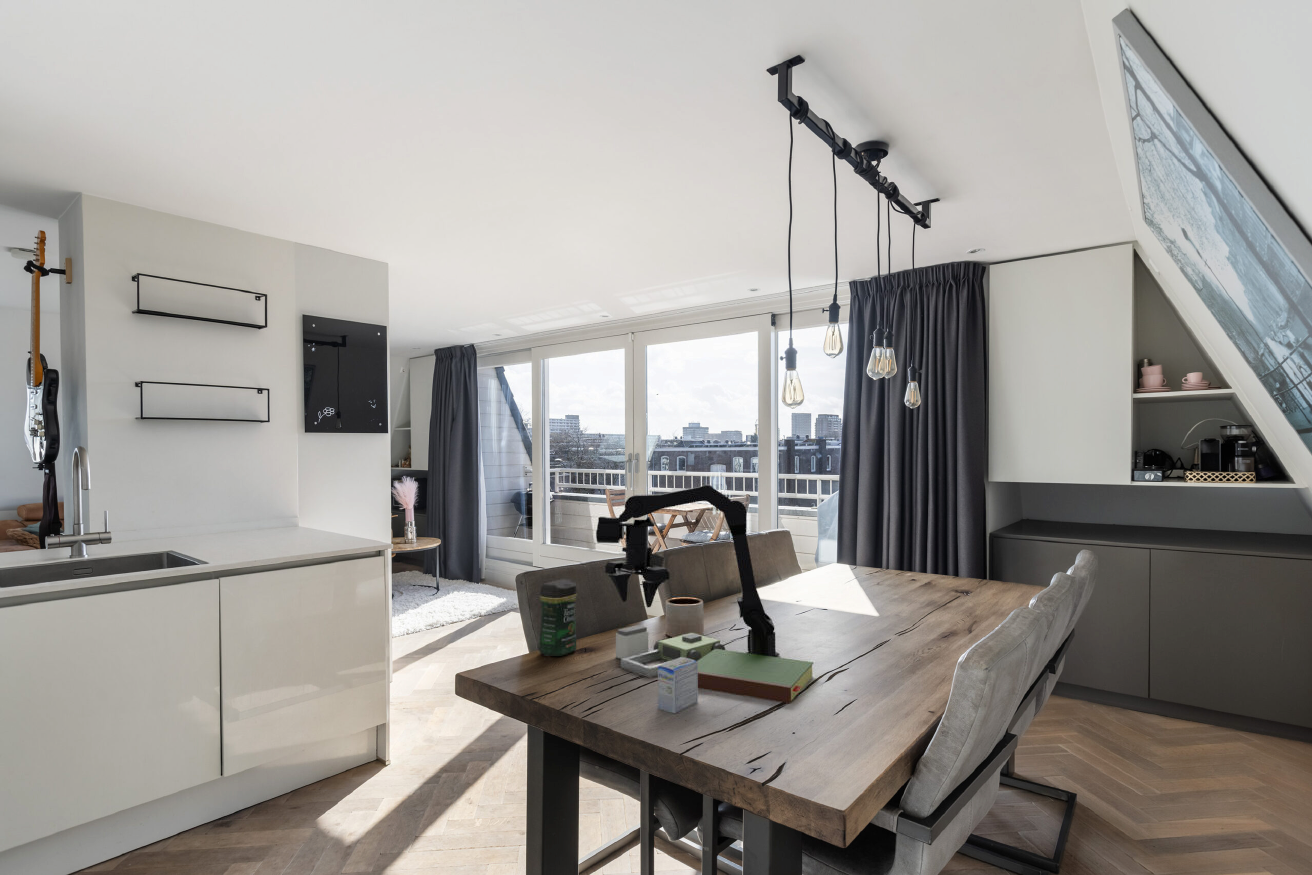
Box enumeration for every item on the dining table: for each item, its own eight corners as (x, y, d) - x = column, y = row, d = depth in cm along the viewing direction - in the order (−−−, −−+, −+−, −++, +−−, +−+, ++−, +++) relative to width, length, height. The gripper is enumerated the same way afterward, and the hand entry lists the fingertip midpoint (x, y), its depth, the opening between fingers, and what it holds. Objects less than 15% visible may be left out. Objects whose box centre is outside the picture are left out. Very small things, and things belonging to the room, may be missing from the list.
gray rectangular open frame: (686, 666, 159) (686, 658, 159) (649, 677, 151) (649, 668, 151) (657, 657, 167) (657, 649, 167) (620, 667, 159) (620, 658, 159)
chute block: (648, 655, 169) (648, 627, 169) (627, 660, 164) (627, 632, 164) (637, 651, 172) (636, 624, 172) (616, 657, 167) (615, 629, 168)
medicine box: (681, 697, 138) (680, 656, 139) (698, 702, 135) (698, 660, 136) (657, 709, 132) (657, 665, 132) (674, 714, 129) (674, 669, 130)
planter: (660, 638, 184) (660, 603, 185) (671, 628, 195) (671, 596, 195) (698, 641, 181) (698, 606, 182) (707, 631, 192) (707, 598, 192)
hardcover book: (682, 687, 146) (682, 670, 146) (715, 664, 162) (715, 648, 163) (794, 706, 134) (793, 688, 134) (816, 679, 151) (816, 662, 151)
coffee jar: (558, 659, 165) (558, 584, 166) (534, 654, 169) (534, 582, 170) (582, 649, 174) (582, 578, 174) (558, 645, 178) (558, 576, 178)
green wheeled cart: (725, 657, 166) (725, 637, 166) (690, 668, 158) (689, 647, 158) (687, 646, 176) (687, 627, 176) (652, 656, 168) (652, 636, 168)
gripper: (684, 544, 170) (684, 605, 170) (634, 537, 183) (634, 594, 183) (653, 548, 162) (653, 612, 162) (604, 541, 175) (603, 600, 175)
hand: (636, 604), depth 171 cm, fingers open, 9 cm apart
